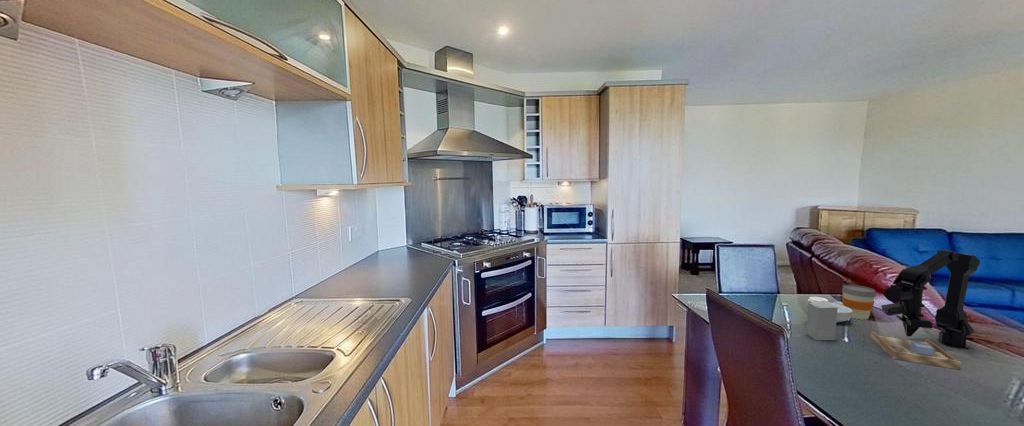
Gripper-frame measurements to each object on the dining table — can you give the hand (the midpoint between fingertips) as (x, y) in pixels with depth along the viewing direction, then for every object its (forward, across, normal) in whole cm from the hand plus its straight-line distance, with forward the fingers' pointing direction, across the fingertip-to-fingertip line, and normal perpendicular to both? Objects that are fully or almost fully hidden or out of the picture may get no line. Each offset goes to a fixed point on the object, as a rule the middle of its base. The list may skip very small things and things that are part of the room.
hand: (908, 336), depth 148 cm
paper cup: (+6, -12, -27) cm, 30 cm away
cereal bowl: (+6, -26, -19) cm, 33 cm away
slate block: (+4, +10, 0) cm, 11 cm away
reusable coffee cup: (+6, -38, -5) cm, 39 cm away
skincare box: (+6, +3, -29) cm, 30 cm away
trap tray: (+6, +3, 0) cm, 6 cm away
